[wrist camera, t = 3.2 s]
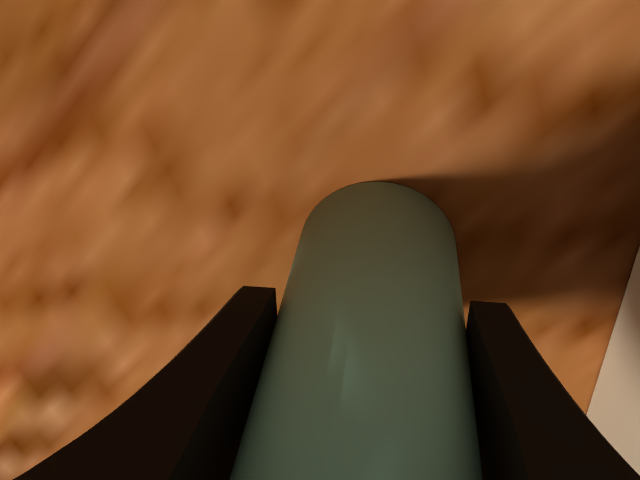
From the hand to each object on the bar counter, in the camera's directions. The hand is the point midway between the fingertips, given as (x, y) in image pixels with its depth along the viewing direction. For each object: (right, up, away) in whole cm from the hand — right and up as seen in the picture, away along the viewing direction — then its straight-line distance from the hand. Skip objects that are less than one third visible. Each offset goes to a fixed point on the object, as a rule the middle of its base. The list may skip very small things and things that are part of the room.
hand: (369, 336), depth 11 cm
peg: (0, +2, +2) cm, 3 cm away
